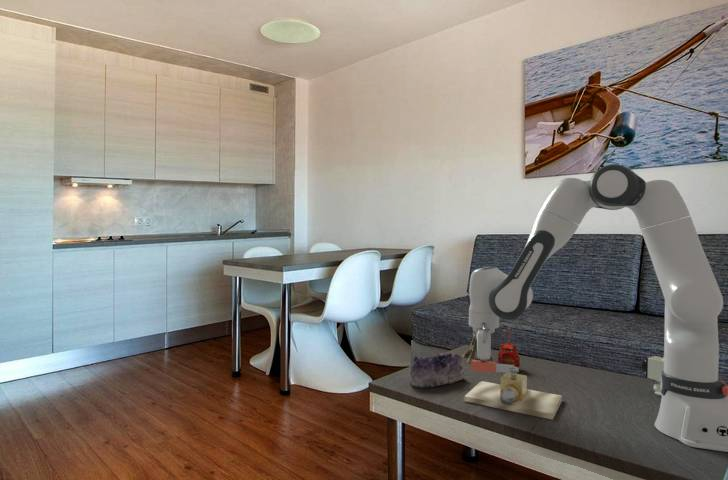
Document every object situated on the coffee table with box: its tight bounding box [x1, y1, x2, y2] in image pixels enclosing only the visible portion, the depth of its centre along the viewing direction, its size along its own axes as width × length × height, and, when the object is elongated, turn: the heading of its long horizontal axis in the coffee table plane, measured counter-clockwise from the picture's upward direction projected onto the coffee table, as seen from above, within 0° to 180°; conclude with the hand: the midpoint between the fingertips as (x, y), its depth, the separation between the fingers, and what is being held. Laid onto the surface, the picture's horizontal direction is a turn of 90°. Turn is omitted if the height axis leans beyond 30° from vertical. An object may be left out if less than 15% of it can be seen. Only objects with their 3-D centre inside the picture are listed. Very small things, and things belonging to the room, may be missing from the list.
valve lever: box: [470, 359, 520, 377], centre depth 137 cm, size 13×3×3 cm, turn 70°
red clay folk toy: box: [497, 325, 521, 369], centre depth 166 cm, size 8×7×15 cm
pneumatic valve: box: [640, 355, 664, 397], centre depth 141 cm, size 6×12×12 cm, turn 32°
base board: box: [463, 380, 563, 421], centre depth 135 cm, size 24×16×2 cm, turn 59°
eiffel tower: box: [460, 331, 495, 364], centre depth 178 cm, size 11×11×25 cm
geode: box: [409, 353, 465, 389], centre depth 152 cm, size 20×12×10 cm, turn 128°
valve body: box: [499, 373, 528, 405], centre depth 135 cm, size 6×16×6 cm, turn 149°
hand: (483, 365), depth 140 cm, fingers closed
